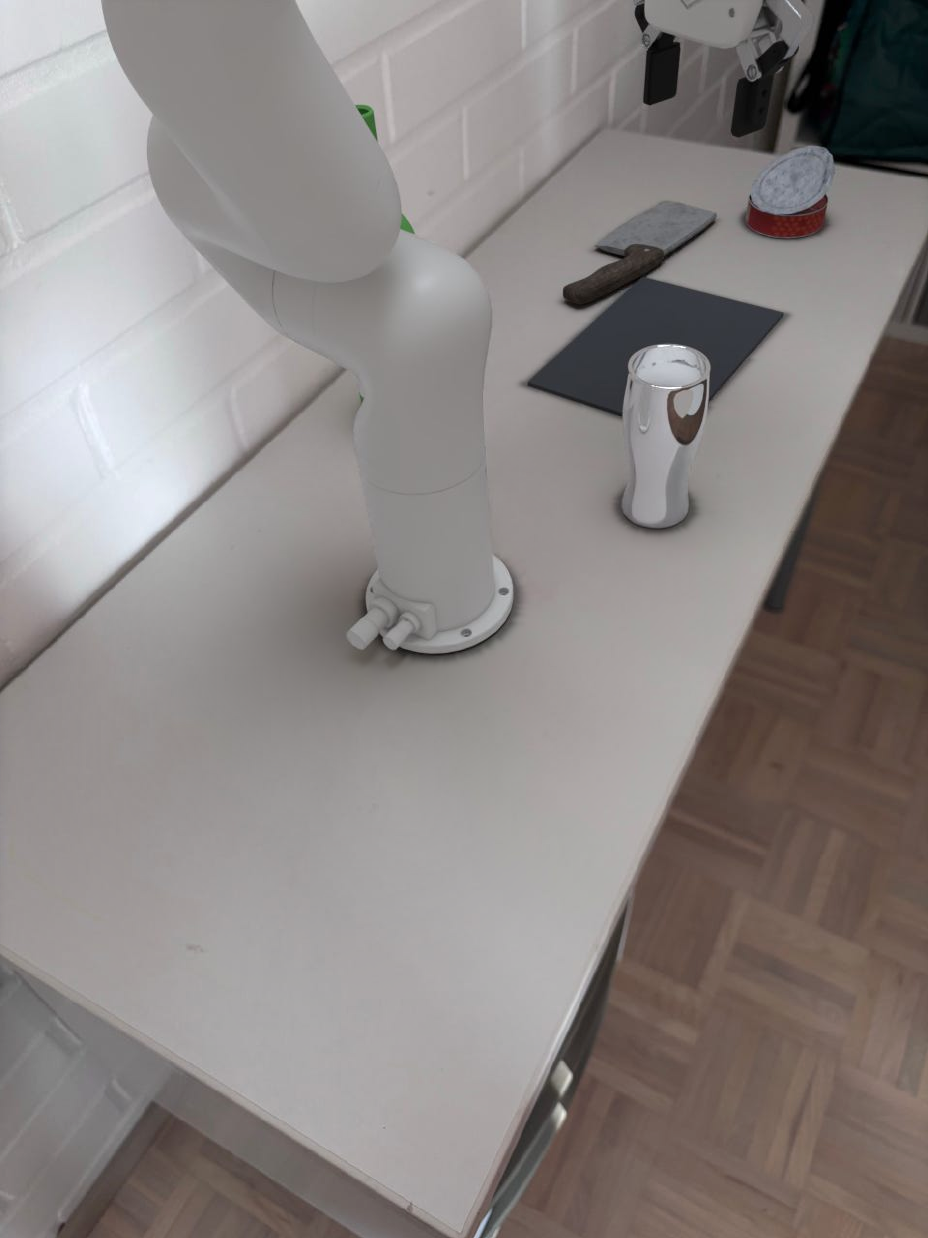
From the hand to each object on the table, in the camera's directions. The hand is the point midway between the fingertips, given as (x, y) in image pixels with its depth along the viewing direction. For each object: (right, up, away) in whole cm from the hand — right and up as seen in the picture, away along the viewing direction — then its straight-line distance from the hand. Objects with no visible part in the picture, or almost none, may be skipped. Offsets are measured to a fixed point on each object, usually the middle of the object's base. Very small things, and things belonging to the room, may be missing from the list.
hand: (701, 115), depth 76 cm
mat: (+3, -10, +30) cm, 31 cm away
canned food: (+23, +12, +48) cm, 55 cm away
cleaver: (+3, +6, +45) cm, 45 cm away
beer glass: (-1, -30, +12) cm, 32 cm away
